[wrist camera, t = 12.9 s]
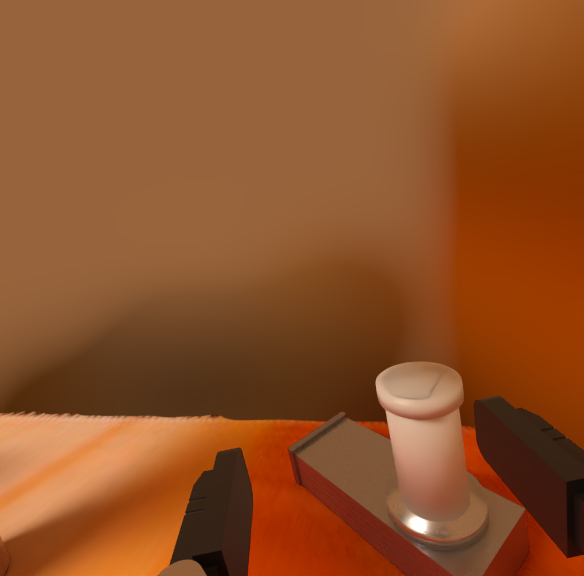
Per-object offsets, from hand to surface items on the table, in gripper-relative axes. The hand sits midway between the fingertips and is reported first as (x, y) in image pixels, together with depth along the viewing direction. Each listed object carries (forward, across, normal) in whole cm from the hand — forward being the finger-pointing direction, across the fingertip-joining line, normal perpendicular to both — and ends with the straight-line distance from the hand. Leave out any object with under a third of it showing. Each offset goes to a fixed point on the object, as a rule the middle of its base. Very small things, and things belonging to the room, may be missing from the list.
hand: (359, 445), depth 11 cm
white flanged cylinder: (+12, -7, +16) cm, 21 cm away
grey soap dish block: (+16, -4, +21) cm, 27 cm away
